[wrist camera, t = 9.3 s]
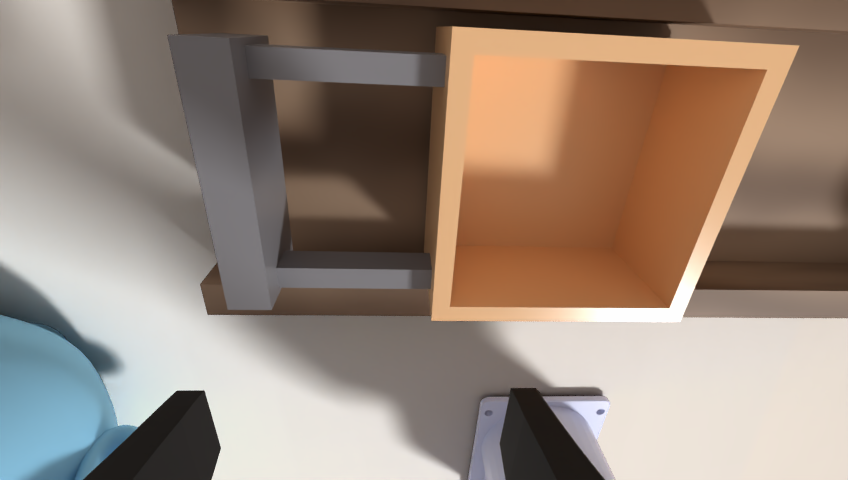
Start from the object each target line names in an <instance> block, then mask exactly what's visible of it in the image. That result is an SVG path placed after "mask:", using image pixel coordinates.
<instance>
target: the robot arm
mask: <svg viewBox="0 0 848 480" xmlns="http://www.w3.org/2000/svg"><path fill="white" fill-rule="evenodd" d="M609 407H610V402H609V400H608V398H607V397H605V396H542V395H541V394H540V392H539V391H538V390H537V389H536V388H511V391H510V395H509V397H486V398H484V399H482V400H481V402H480V408H479V414H478V420H477V426H476V433H475V439H474V445H473V451H472V457H471V464H470V470H469V476H468V480H615V477H614V475H613V473H612V471H611V469H610V467H609V465H608V463H607V461H606V459H605V456H604V454H603V452H602V450H601V448H600V446H599V444H598V442H597V439H598V436H599V433H600V431H601V428H602V426H603V423H604V420H605V418H606V415H607V412H608V410H609ZM487 410H488V411H487ZM220 449H221V447H220V443H219V440H218V436H217V433H216V429H215V426H214V423H213V419H212V416H211V412H210V409H209V405H208V402H207V398H206V395H205V391H176V392H175V393H174V394H173V395H172V396H171V397H170V398H169V399H168V400H166V401H165V402H164V403H163V404H162V405H161V406H160V407H159V408H158V409H157V410H156V411H155V412H154V413H153V414H152V415H151V416H150V417H149V418H148V419H147V420H145V421H144V422H143V423H142V424H141V425H140V426H139V427H138V428H137V429H136V430H135V431H134V432H133V433H132V434H131V435H130V436H129V437H128V438H127V439H126V440H125V441H124V442H122V443H121V444H120V445H119V446H118V447H117V448H116V449H115V450H114V451H113V452H112V453H111V454H110V455H109V456H108V457H107V458H105V459H104V460H103V461H102V462H101V463H100V464H99V465H98V466H97V467H96V468H95V469H94V470H93V471H91V472H90V473H89V474H88V475H87V476H86V477H85V478H84V479H83V480H211V479H212V476H213V473H214V469H215V466H216V463H217V459H218V456H219V453H220Z"/></svg>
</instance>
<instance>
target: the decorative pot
mask: <svg viewBox="0 0 848 480" xmlns="http://www.w3.org/2000/svg"><path fill="white" fill-rule="evenodd" d="M137 428H138V427H135V426H130V425H121V426H118V424H117V418H116V415H115V411H114V407H113V404H112V402H111V399H110V397H109V394H108V392H107V390H106V388H105V386H104V384H103V382H102V380H101V378H100V376H99V374H98V372H97V371H96V369H95V368H94V366H93V365H92V363H91V362H90V361H89V360H88V358H87V357H86V356H85V355H84V354H83V353H82V352H81V351H80V350H79V349H77V348H76V347H75V346H74V345H72V344H71V343H70V342H68V341H67V339H66V338H65V337H64V336H63V335H62V334H61V333H60V332H58V331H57V330H55V329H53V328H51V327H49V326H46V325H43V324H38V323H27V322H24V321H21V320H18V319H15V318H11V317H7V316H3V315H0V480H83V479H84V478H85V477H86V476H87V475H88V474H89V473H90V472H91V471H93V470H94V469H95V468H96V467H97V466H98V465H99V464H100V463H101V462H102V461H103V460H104V459H105V458H107V457H108V456H109V455H110V454H111V453H112V452H113V451H114V450H115V449H116V448H117V447H118V446H119V445H120V444H121V443H122V442H124V441H125V440H126V439H127V438H128V437H129V436H130V435H131V434H132V433H133V432H134V431H135V430H136V429H137Z"/></svg>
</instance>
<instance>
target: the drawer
mask: <svg viewBox="0 0 848 480" xmlns="http://www.w3.org/2000/svg"><path fill="white" fill-rule="evenodd" d="M167 36H168V41H169V45H170V50H171V54H172V59H173V64H174V68H175V73H176V77H177V82H178V86H179V91H180V95H181V100H182V104H183V109H184V113H185V118H186V123H187V127H188V132H189V136H190V141H191V145H192V150H193V154H194V159H195V163H196V168H197V173H198V177H199V182H200V186H201V191H202V195H203V200H204V204H205V209H206V213H207V218H208V222H209V227H210V232H211V236H212V241H213V245H214V250H215V254H216V259H217V263H218V268H219V272H220V277H221V282H222V286H223V291H224V295H225V300H226V304H227V309H228V310H272V308H273V306H274V304H275V302H276V299H277V297H278V295H279V293H280V291H281V288H367V289H428V294H429V303H430V313H431V321H571V322H680V321H681V318H682V316H683V314H684V312H685V309H686V307H687V305H688V302H689V300H690V298H691V295H692V293H693V291H694V288H695V286H696V284H697V281H698V279H699V277H700V275H701V272H702V270H703V268H704V265H705V263H706V261H707V258H708V256H709V254H710V251H711V249H712V247H713V244H714V242H715V240H716V238H717V235H718V233H719V231H720V228H721V226H722V224H723V221H724V219H725V217H726V214H727V212H728V210H729V208H730V205H731V203H732V201H733V198H734V196H735V194H736V191H737V189H738V187H739V184H740V182H741V180H742V177H743V175H744V173H745V171H746V168H747V166H748V164H749V161H750V159H751V157H752V154H753V152H754V150H755V147H756V145H757V143H758V141H759V138H760V136H761V134H762V131H763V129H764V127H765V124H766V122H767V120H768V117H769V115H770V113H771V110H772V108H773V106H774V104H775V101H776V99H777V97H778V94H779V92H780V90H781V87H782V85H783V83H784V80H785V78H786V76H787V74H788V71H789V69H790V67H791V64H792V62H793V60H794V57H795V55H796V53H797V50H798V48H799V45H780V44H762V43H744V42H726V41H708V40H690V39H671V38H653V37H635V36H617V35H599V34H581V33H562V32H544V31H526V30H508V29H490V28H472V27H453V26H445V27H436V38H435V53H428V52H408V51H388V50H369V49H349V48H329V47H309V46H289V45H269V41H268V35H248V34H229V33H208V34H180V35H167ZM273 80H293V81H316V82H338V83H361V84H383V85H406V86H428V87H433V93H432V111H431V129H430V147H429V165H428V184H427V202H426V220H425V238H424V253H397V252H335V251H293V246H292V237H291V229H290V220H289V212H288V203H287V194H286V186H285V177H284V169H283V160H282V152H281V143H280V135H279V126H278V118H277V109H276V100H275V92H274V83H273Z"/></svg>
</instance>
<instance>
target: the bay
mask: <svg viewBox="0 0 848 480" xmlns="http://www.w3.org/2000/svg"><path fill="white" fill-rule="evenodd" d="M172 4H173V9H174V14H175V19H176V23H177V28H178V33H179V35H180V34H208V33H229V34H248V35H268V41H269V45H289V46H309V47H329V48H349V49H369V50H388V51H408V52H428V53H435V38H436V27H445V26H453V27H472V28H490V29H508V30H526V31H544V32H562V33H581V34H599V35H617V36H635V37H653V38H671V39H690V40H708V41H726V42H744V43H762V44H780V45H799V48H798V50H797V53H796V55H795V57H794V60H793V62H792V64H791V67H790V69H789V71H788V74H787V76H786V78H785V80H784V83H783V85H782V87H781V90H780V92H779V94H778V97H777V99H776V101H775V104H774V106H773V108H772V110H771V113H770V115H769V117H768V120H767V122H766V124H765V127H764V129H763V131H762V134H761V136H760V138H759V141H758V143H757V145H756V147H755V150H754V152H753V154H752V157H751V159H750V161H749V164H748V166H747V168H746V171H745V173H744V175H743V177H742V180H741V182H740V184H739V187H738V189H737V191H736V194H735V196H734V198H733V201H732V203H731V205H730V208H729V210H728V212H727V214H726V217H725V219H724V221H723V224H722V226H721V228H720V231H719V233H718V235H717V238H716V240H715V242H714V244H713V247H712V249H711V251H710V254H709V256H708V258H707V261H706V263H705V265H704V268H703V270H702V272H701V275H700V277H699V279H698V281H697V284H696V286H695V288H694V291H693V293H692V295H691V298H690V300H689V302H688V305H687V307H686V309H685V312H684V314H683V316H682V317H734V318H848V0H172ZM273 83H274V92H275V100H276V109H277V118H278V126H279V135H280V143H281V152H282V160H283V169H284V177H285V186H286V194H287V203H288V212H289V220H290V229H291V237H292V246H293V251H335V252H397V253H424V238H425V220H426V202H427V184H428V165H429V147H430V129H431V111H432V93H433V87H428V86H406V85H383V84H361V83H338V82H316V81H293V80H273ZM200 286H201V290H202V294H203V298H204V302H205V306H206V310H207V314H208V315H363V316H431V313H430V303H429V294H428V289H367V288H281V291H280V293H279V295H278V297H277V299H276V302H275V304H274V306H273V308H272V310H228V309H227V304H226V300H225V295H224V291H223V286H222V282H221V277H220V272H219V268H218V263H216V265H215V266H214V267H213V269H212V270H211V271H210V272H209V274H208V275H207V276H206V278H205V279H204V280H203V281H202V283H201V284H200Z"/></svg>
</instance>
